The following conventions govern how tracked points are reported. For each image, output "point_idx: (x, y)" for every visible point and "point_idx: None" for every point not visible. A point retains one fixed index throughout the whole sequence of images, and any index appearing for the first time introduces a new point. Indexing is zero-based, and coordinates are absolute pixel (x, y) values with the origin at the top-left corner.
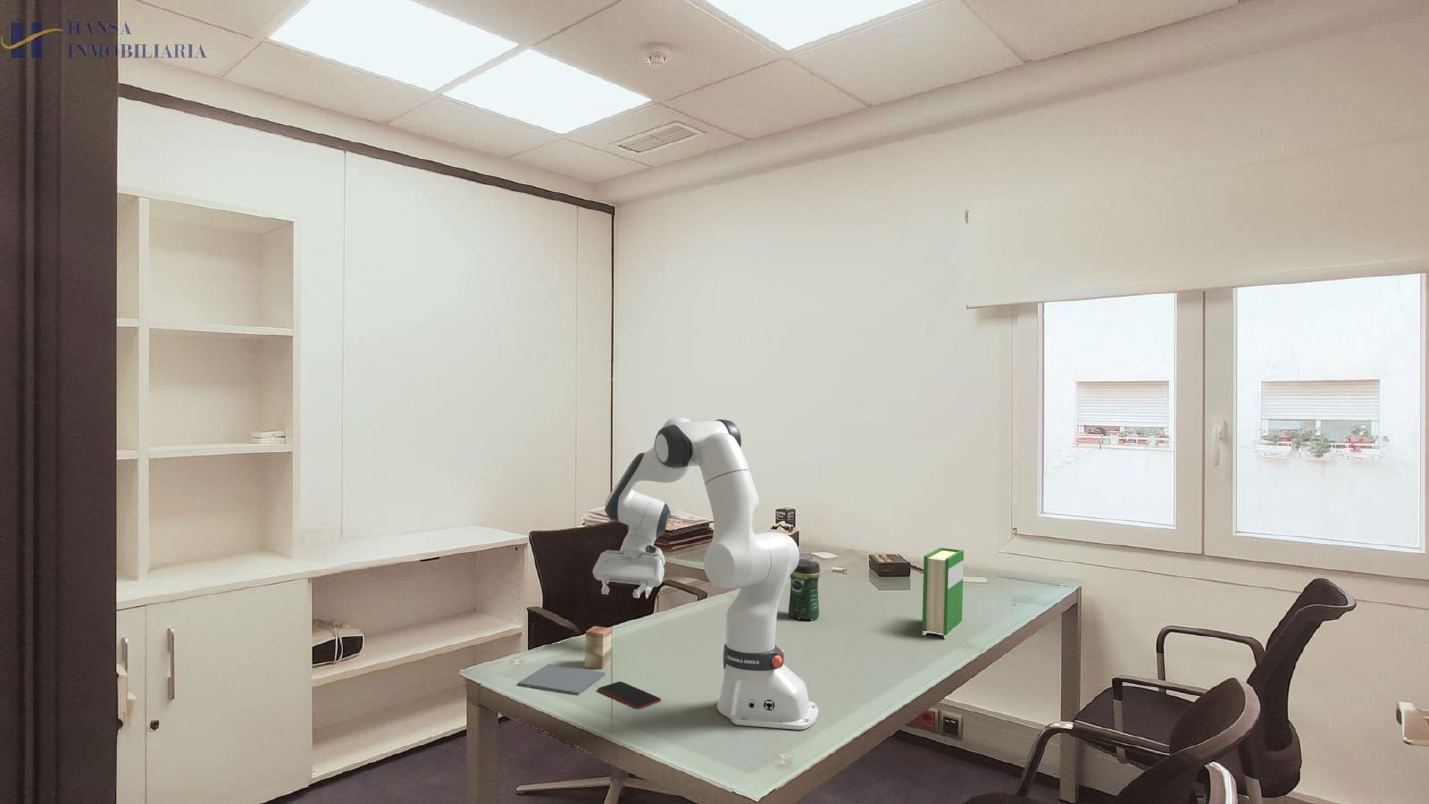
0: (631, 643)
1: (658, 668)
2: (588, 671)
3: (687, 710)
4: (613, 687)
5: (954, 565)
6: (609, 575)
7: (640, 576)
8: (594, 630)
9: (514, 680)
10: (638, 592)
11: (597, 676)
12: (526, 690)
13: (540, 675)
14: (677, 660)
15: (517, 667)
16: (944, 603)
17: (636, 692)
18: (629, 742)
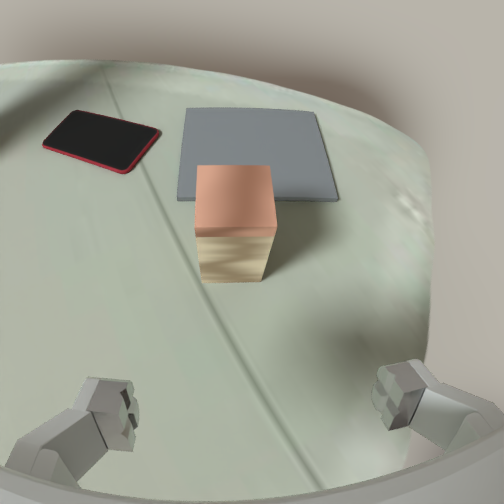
0: (231, 481)
1: (62, 291)
2: None
3: (9, 139)
4: (129, 143)
5: None
6: (474, 442)
7: (33, 493)
8: (246, 181)
9: (334, 129)
10: (80, 391)
11: (183, 172)
12: (283, 104)
13: (303, 142)
14: (33, 371)
15: (382, 179)
16: None
17: (82, 144)
18: (79, 62)
